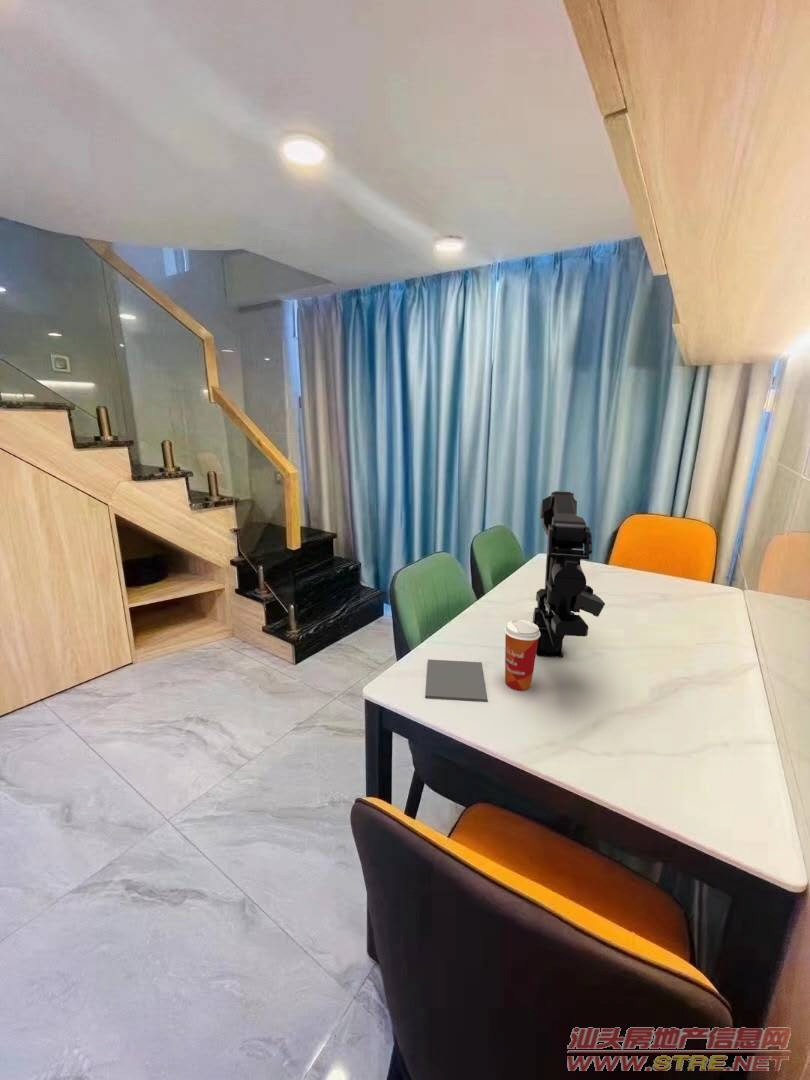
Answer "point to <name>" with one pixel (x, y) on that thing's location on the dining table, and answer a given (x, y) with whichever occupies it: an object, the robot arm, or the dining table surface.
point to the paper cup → (520, 653)
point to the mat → (455, 680)
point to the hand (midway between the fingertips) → (555, 646)
